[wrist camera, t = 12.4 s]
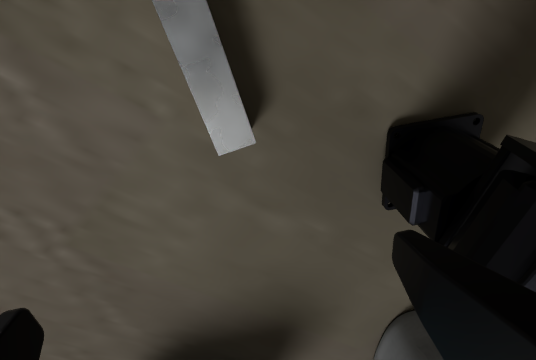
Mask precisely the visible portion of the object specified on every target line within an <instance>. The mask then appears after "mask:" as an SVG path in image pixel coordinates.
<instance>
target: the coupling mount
mask: <svg viewBox="0 0 536 360" xmlns="http://www.w3.org/2000/svg"><path fill="white" fill-rule="evenodd" d="M152 1H153V4H154V6H155V8H156V11H157V13H158V15H159V18H160V20H161V22H162V25H163V27H164V29H165V32H166V34H167V36H168V39H169V41H170V43H171V46H172V48H173V50H174V53H175V55H176V57H177V60H178V62H179V64H180V67H181V69H182V71H183V74H184V76H185V78H186V81H187V83H188V85H189V88H190V90H191V92H192V95H193V97H194V99H195V102H196V104H197V106H198V109H199V111H200V113H201V116H202V118H203V120H204V123H205V125H206V127H207V130H208V132H209V134H210V137H211V139H212V141H213V143H214V146H215V148H216V150H217V153H218V155H219V156H220V155H223V154H226V153H229V152H232V151H234V150H237V149H240V148H243V147H246V146H249V145H252V144H255V143H256V141H255V138H254V135H253V131H252V128H251V125H250V122H249V120H248V117H247V114H246V111H245V108H244V105H243V102H242V100H241V97H240V94H239V91H238V88H237V85H236V82H235V80H234V77H233V74H232V71H231V68H230V65H229V62H228V60H227V57H226V54H225V51H224V48H223V45H222V42H221V40H220V37H219V34H218V31H217V28H216V25H215V23H214V20H213V17H212V14H211V11H210V8H209V5H208V3H207V0H152Z"/></svg>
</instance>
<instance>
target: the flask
mask: <svg viewBox="0 0 536 360" xmlns="http://www.w3.org/2000/svg"><path fill="white" fill-rule="evenodd" d="M374 360H443V358H442V356H441V355H440V353H439V351H438V350H437V348H436V346H435V345H434V343H433V341H432V340H431V338H430V337H429V335H428V333H427V332H426V330H425V328H424V326H423V325H422V323H421V321H420V319H419V317H418V315H417V313H416V311H411V312H407V313H404V314H403V315H401V316H399V317H397V318H396V319H395V320H394V321H393V322H392V323H391V324H390V325H389V327H388V328H387V329H386V331H385V333H384V335H383V337H382V339H381V341H380V343H379V345H378V348H377V350H376V353H375V357H374Z"/></svg>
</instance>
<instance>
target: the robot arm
mask: <svg viewBox="0 0 536 360" xmlns="http://www.w3.org/2000/svg"><path fill="white" fill-rule="evenodd" d="M475 119H476V120H475ZM474 120H475V121H474ZM483 120H484V117H483V116H482V115H481V114H479V113H476V112H473V113H468V114H462V115H456V116H451V117H445V118H439V119H433V120H428V121H422V122H416V123H411V124H405V125H399V126H394V127H392V128H391V129H389V131H388V133H387V142H386V155H385V159H384V160H383V166H382V180H381V192H382V193H383V195H382V205H383V206H384V208H385V209H386V210H393V209H397V210H398V211H399V212H400V214H401V215H402V216H403V217H404V218H405V219H406V221H407V222H408V223H410V224H411V225H412V226H413V225H418V226H419V227H420V228H421V229H422V231H423V232H424V233H425V234H426V235H427V236H428V237H429V238H430V239H429V238H427V237H426V236H424V235H422V234H420V233H418V232H416V231H413V230H405V231H400V232H397V233H396V234H395V235H394V241H393V250H392V261H393V264H394V267H395V269H396V271H397V273H398V275H399V277H400V279H401V282H402V284H403V286H404V288H405V290H406V292H407V294H408V296H409V299H410V301H411V303H412V305H413V307H414V309H415V311H416V313H417V315H418V317H419V319H420V321H421V323H422V325H423V326H424V328H425V330H426V332H427V333H428V335H429V337H430V338H431V340H432V341H433V343H434V345H435V346H436V348H437V350H438V351H439V353H440V355H441V356H442V358H443V360H536V143H535V142H531V141H528V140H524V139H521V138H517V137H513V136H510V135H506V136H505V138H504V139H503V141H502V142H501V144H500V145H502V146H501V148H500V149H499V148H497V147H495V146H493V145H492V144H490V143H488V142H486V141H484V140H482V139H480V133H481V129H482V125H483ZM473 121H474V122H473ZM396 132H398V134H397V136H395V137H394V134H395V133H396ZM389 202H391V203H390V204H388V203H389ZM43 341H44V331H43V328H42V327H41V325H40V324H39V323H38V321H37V320H36V319H35V317H34V316H33V315H32V314H31V312H30V311H29V310H28V309H26V308H19V309H14V310H9V311H6V312H4V313H2V314H1V315H0V360H39V358H40V353H41V349H42V345H43Z"/></svg>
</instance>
